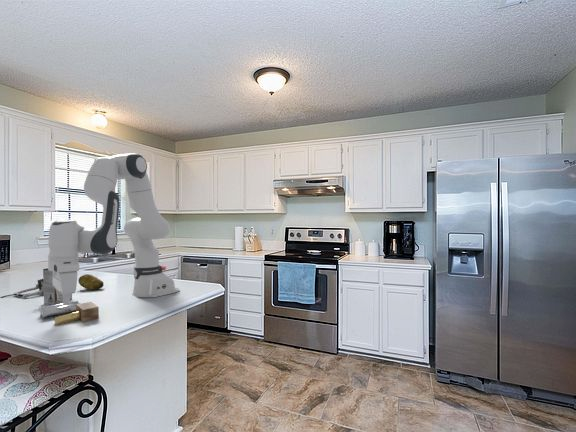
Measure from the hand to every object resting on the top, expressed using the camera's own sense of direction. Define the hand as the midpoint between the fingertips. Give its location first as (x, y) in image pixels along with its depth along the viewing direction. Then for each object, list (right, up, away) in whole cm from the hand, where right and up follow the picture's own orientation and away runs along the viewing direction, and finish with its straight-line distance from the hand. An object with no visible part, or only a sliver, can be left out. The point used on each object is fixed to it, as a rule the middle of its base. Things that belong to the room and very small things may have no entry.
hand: (63, 302), depth 112 cm
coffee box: (-27, -9, +34) cm, 44 cm away
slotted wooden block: (+5, -9, +5) cm, 11 cm away
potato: (-26, -9, +57) cm, 63 cm away
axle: (+3, -7, +3) cm, 8 cm away
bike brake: (-50, -9, +45) cm, 68 cm away
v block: (-8, -9, +10) cm, 15 cm away
